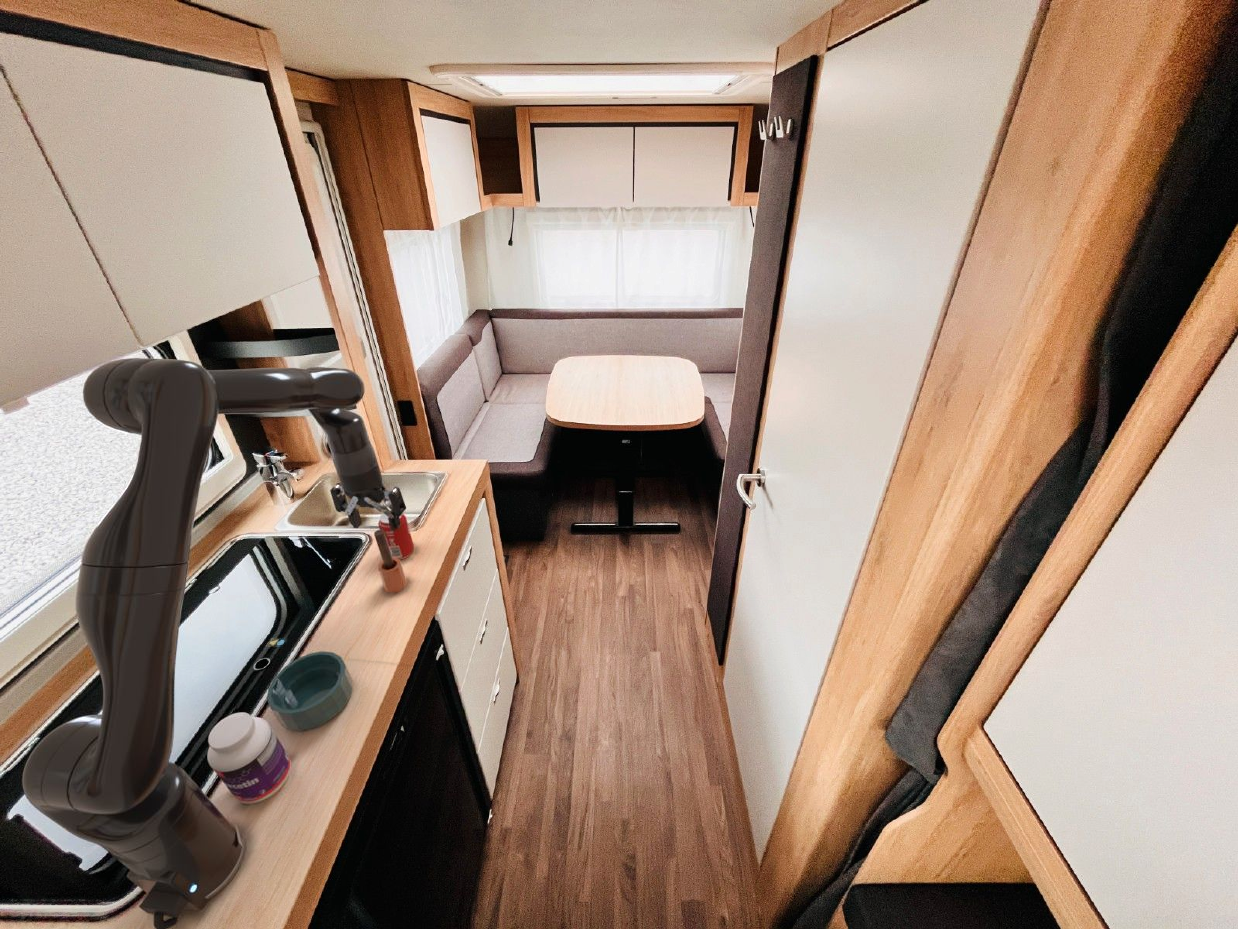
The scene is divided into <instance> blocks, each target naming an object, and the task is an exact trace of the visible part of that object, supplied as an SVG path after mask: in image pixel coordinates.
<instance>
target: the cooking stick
mask: <svg viewBox="0 0 1238 929" xmlns="http://www.w3.org/2000/svg"><path fill="white" fill-rule="evenodd" d="M373 536H374V538H375V541H376V545H377V547H378V551H379V554H380V557H381V559H382V561H383V563H384V566H385V569H386V570H390V569H392V568H394V567H395V565H394V562H393V559H392V555H391V552H390V549H389V546H388V543H387V540H386V536H385V533H384V531H383V530H380V529H377V530H375V531H374V533H373Z"/></svg>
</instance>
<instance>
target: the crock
mask: <svg viewBox="0 0 1238 929" xmlns="http://www.w3.org/2000/svg"><path fill="white" fill-rule="evenodd" d="M392 559H393V562H394V565H395V567H394V568H392V569H390V570H386V569H385V566H384V563H383V560H382V561H380V562H379V563H378V565H377V571H378V573H379V576H380V580H381V582H382V585H383V588H384V591H385V592H386V593H389V594H395V593H399V592H401V591H403V590H404V589H405V588H406V587H407V585H408V582H407V577H406V574H405V571H404V568H403V564H402V561H401V559H398V558H393V557H392Z"/></svg>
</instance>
